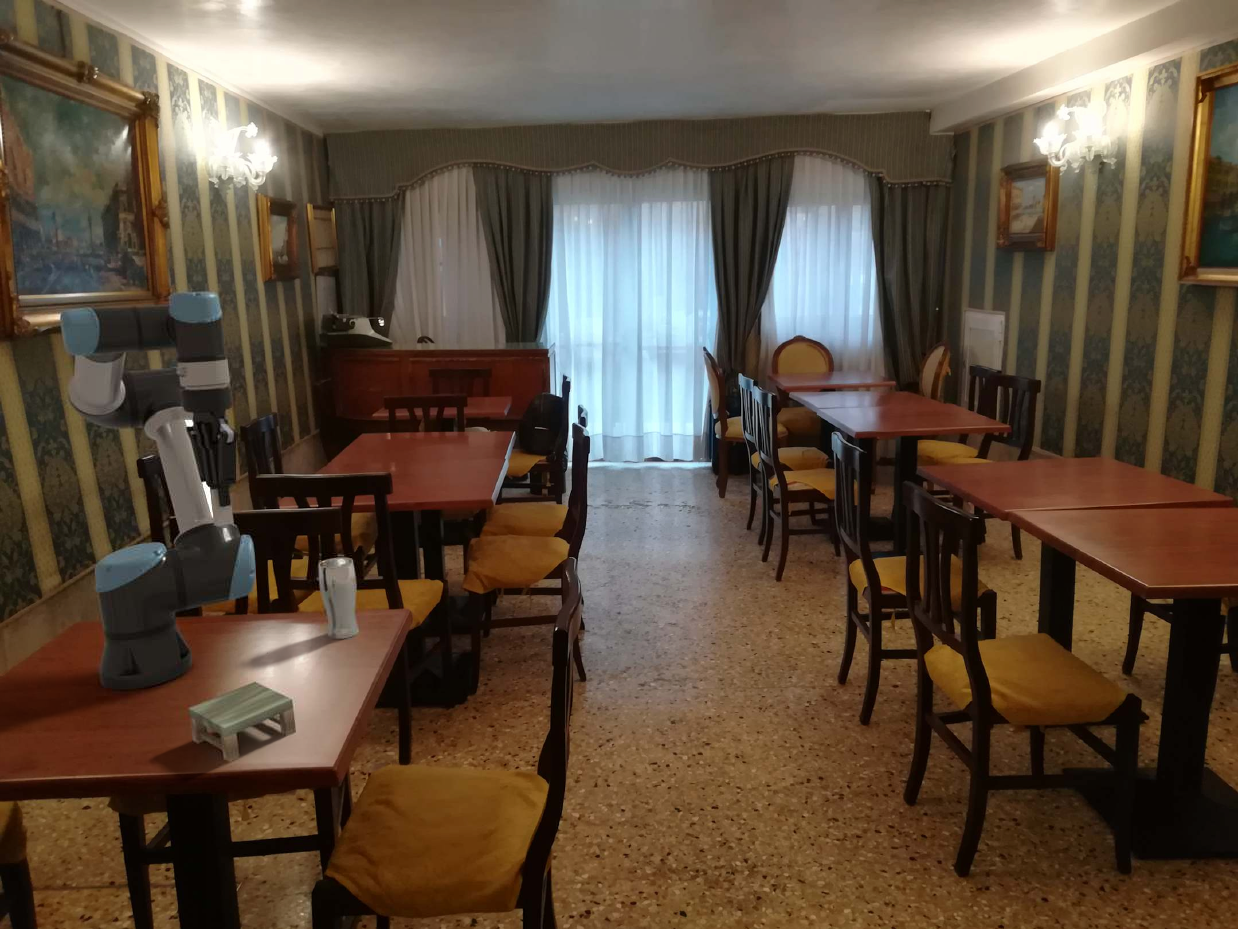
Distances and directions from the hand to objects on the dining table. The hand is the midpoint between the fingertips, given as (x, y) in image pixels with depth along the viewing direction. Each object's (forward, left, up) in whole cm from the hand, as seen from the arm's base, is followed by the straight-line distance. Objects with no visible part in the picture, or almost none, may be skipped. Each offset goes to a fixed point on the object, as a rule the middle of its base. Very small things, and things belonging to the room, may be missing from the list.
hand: (223, 523), depth 152 cm
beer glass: (-5, +24, -30) cm, 38 cm away
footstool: (+12, -10, -27) cm, 31 cm away
